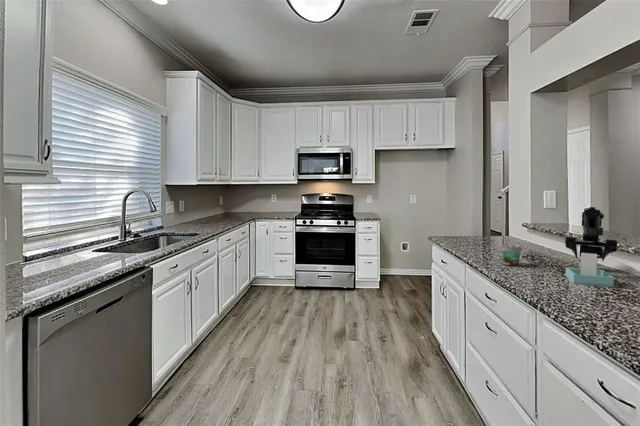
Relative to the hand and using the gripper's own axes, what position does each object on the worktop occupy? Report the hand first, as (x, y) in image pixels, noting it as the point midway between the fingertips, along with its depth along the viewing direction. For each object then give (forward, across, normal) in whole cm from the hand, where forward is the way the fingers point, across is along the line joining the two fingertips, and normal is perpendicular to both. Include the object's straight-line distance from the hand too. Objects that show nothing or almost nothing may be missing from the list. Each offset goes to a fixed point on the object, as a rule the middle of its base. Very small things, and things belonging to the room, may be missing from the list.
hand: (589, 259), depth 156 cm
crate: (+11, 0, +2) cm, 11 cm away
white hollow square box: (+10, 0, +1) cm, 10 cm away
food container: (0, -31, +12) cm, 34 cm away
